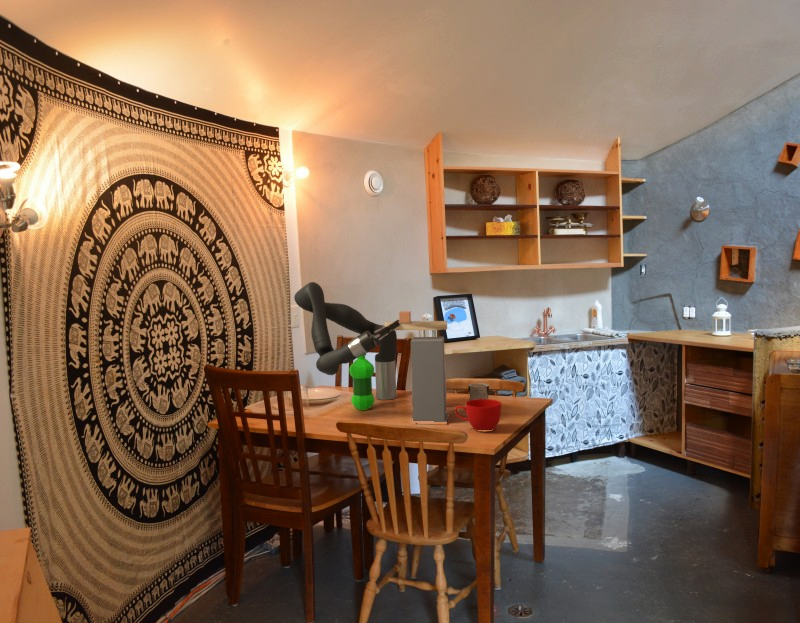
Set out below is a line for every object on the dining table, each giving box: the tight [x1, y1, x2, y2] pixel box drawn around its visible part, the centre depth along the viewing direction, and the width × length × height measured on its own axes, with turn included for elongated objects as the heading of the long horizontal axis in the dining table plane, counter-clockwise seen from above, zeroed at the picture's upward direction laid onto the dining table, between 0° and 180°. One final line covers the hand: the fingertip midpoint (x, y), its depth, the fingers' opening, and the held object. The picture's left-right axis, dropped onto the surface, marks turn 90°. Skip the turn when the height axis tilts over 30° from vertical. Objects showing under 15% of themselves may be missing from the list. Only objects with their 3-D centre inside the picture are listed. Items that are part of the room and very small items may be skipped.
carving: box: [468, 384, 489, 401], centre depth 251 cm, size 6×8×12 cm
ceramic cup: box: [454, 398, 502, 430], centre depth 229 cm, size 13×17×10 cm
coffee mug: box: [467, 382, 490, 396], centre depth 262 cm, size 12×9×10 cm
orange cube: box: [398, 310, 412, 323], centre depth 243 cm, size 4×4×4 cm
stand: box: [410, 336, 450, 423], centre depth 244 cm, size 14×14×32 cm
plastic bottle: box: [349, 353, 375, 411], centre depth 266 cm, size 10×10×25 cm
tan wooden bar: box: [384, 320, 448, 331], centre depth 243 cm, size 4×24×3 cm, turn 83°
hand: (399, 322), depth 244 cm, fingers closed on tan wooden bar, 3 cm apart
